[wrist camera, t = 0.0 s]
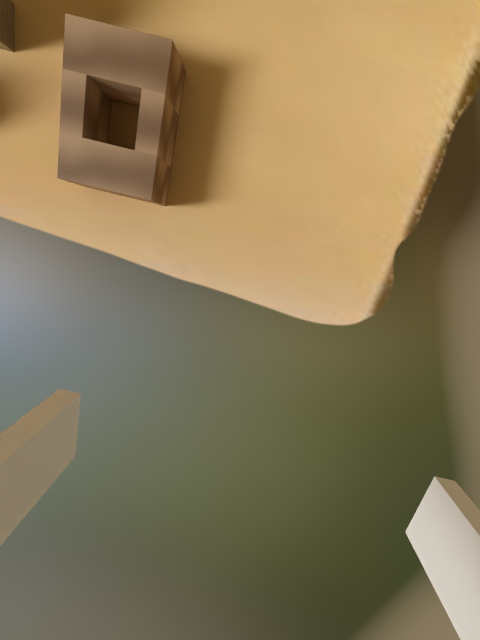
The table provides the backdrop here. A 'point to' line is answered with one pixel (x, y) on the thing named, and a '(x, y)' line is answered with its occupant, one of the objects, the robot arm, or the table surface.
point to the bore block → (125, 86)
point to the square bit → (7, 25)
